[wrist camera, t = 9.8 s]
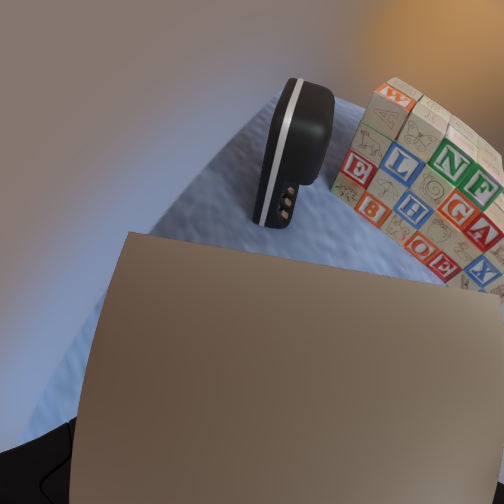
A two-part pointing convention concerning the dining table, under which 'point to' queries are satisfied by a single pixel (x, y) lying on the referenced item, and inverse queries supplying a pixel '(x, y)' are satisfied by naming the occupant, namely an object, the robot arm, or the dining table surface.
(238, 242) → the dining table surface
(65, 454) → the robot arm
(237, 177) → the dining table surface
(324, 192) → the dining table surface
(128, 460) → the ash block
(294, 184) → the battery charger
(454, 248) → the stack of blocks
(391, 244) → the dining table surface
